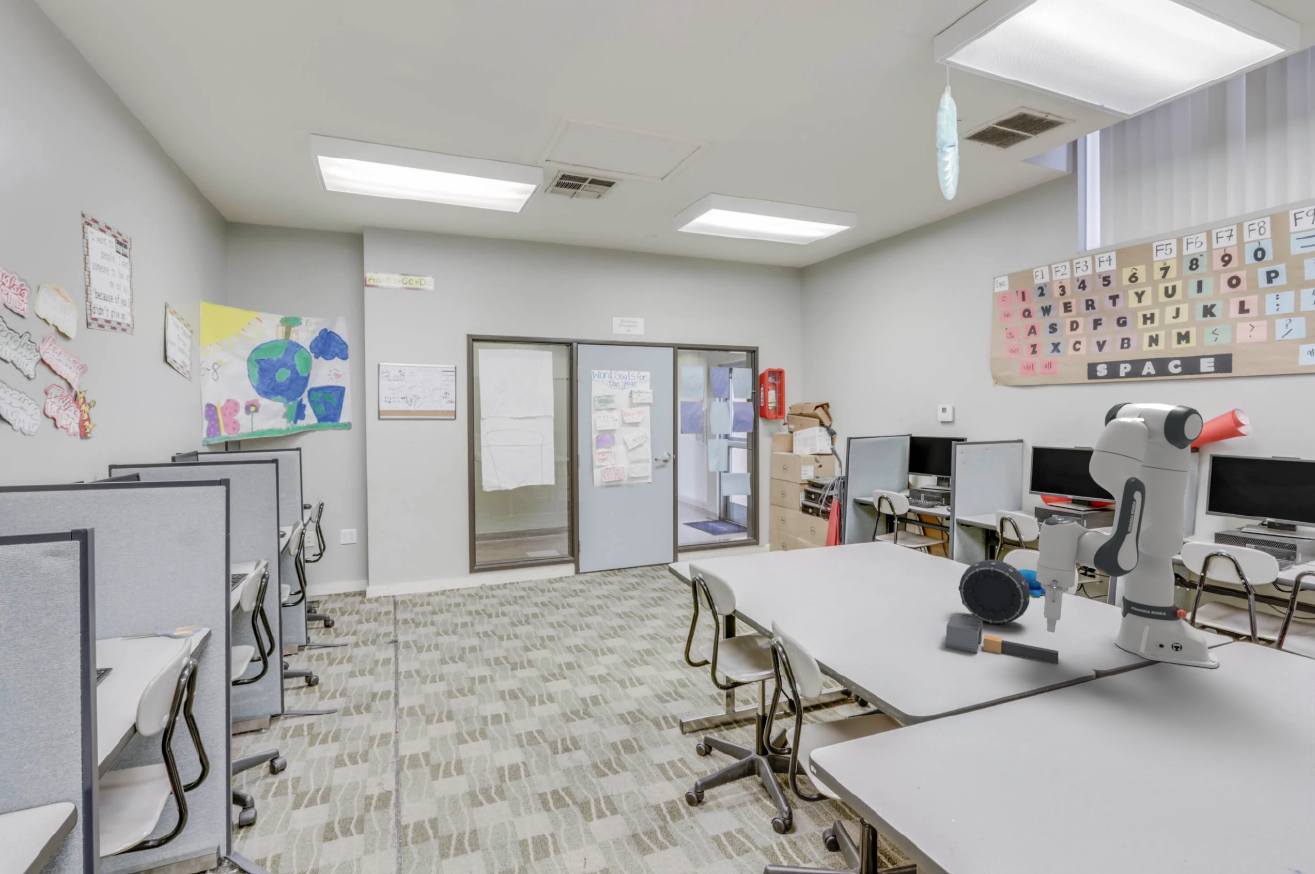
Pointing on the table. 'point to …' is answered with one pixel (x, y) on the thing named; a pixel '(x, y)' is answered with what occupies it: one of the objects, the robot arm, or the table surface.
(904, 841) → the table surface
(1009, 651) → the plug
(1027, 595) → the dotted bowl
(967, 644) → the slotted block
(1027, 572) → the plush toy
